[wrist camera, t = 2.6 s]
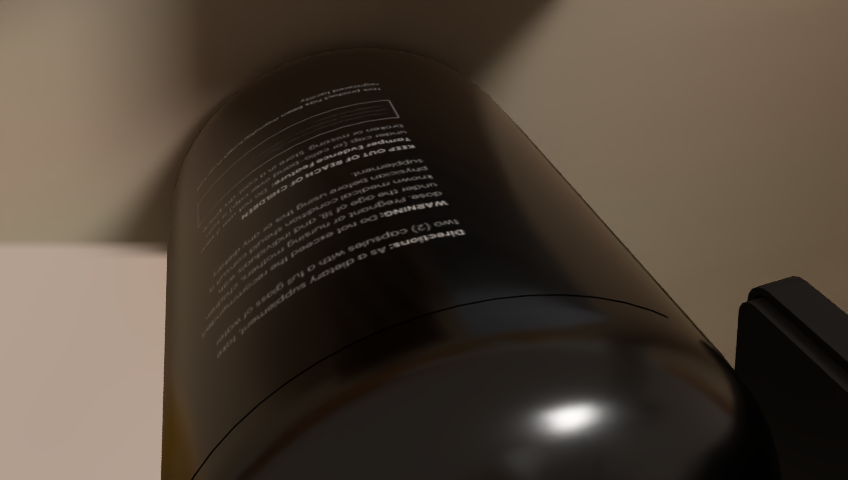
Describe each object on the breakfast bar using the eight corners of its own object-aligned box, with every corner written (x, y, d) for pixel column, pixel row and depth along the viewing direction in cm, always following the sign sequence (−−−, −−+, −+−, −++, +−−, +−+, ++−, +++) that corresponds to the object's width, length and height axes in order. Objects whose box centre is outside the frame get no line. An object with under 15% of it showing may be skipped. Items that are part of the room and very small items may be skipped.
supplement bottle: (171, 359, 16) (129, 1330, 6) (169, 20, 13) (75, 915, 3) (491, 349, 18) (857, 1079, 8) (559, 52, 15) (1314, 657, 5)
